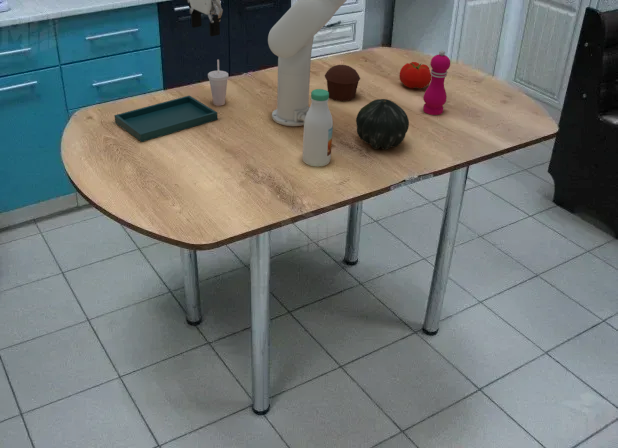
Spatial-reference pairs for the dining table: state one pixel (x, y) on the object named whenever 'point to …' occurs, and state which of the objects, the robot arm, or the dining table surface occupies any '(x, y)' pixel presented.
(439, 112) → the pepper mill
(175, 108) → the tray
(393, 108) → the squash
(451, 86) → the dining table surface
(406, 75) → the tomato
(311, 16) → the robot arm
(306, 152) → the milk bottle
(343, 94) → the muffin
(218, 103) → the smoothie
